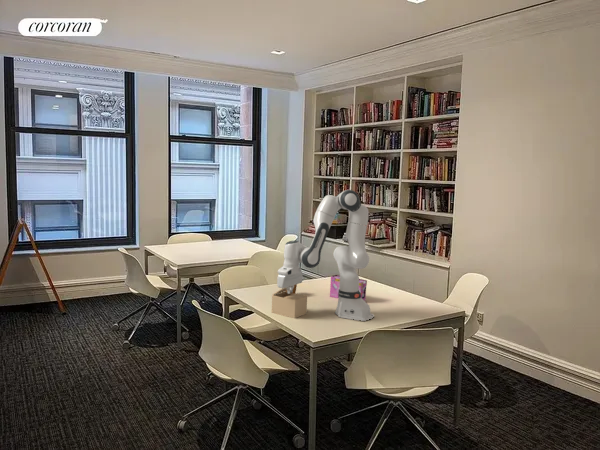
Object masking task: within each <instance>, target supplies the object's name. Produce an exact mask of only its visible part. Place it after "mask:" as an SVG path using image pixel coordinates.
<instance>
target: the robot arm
mask: <svg viewBox="0 0 600 450" xmlns="http://www.w3.org/2000/svg"><path fill="white" fill-rule="evenodd" d="M340 210H347V211H348V220H347V221H348V222H347V224H346V225H347V227H346V230H345V237H346V239H347V242H348V245H338V246H337V247H335V249H334V250H333V254H332V255H333V259H334V260H335V262H336V265H337V268H338V269H337V270H338V272H339V273H338V275H340V287H339V291H338V298H337V299H338V300H337V306H336V310H335V312H334V313H335V315H337V317H338V318H342V319H348V320H353V319H354V320H353V321H359V320H361V322H367V321H366V320H368V321H370V320H369V319H371V320H372V318H373V317H374V318H375V315H374V313H372V312H371V306H370V304H369V303H367V302H366V300H365V301H364V300H363V299H362V298H361V295H362V293H360V292H359V279H360V277H359V275H358V273H357V270H358V269H359V270H360V269H361V270H362V269H365V268H367V267H368V265H369V263H370V256H369V254H368V253H367V252H368V251H367V249H366V242H365V241H366V235H367V230H368V229H367V228H368V223H369V208H368V207H367V206H366V205H364V204H362V202H361V200H360V196H359V194H358V193H357V192H356V191H355V190H352V189H346V190H342V191H341V192H340V193H339V194H337V195H336V196H334V195H332V194H327V195H325V196H324V197H323V199H322V200H321V201H320V203H319V205H318V206H317V208H316V211H315V213H314V216H313V221H312V222H313V225H314V227H315V228H314V229H315V233H314V237H313V239H312V242H311V244H310V246H306V245H305V244H303V243H301V242H299V240H289V241H287V242H286V243H285V244H284V249H283V258H284V260H283V265H282V266H281V267H280V268H278V270H277V274H278V275H277V277H276V279H277V281H276V283H277V284H276V285H277V288H280V289H282V288H286V289H287V293H288V294H290V293H292V292H293V288H294V285H296V284H297V285H298V284H302V283H303V271H302V268H301V267H300V263H302V264H303V265H304V266H305V268H309V269H313V268H316V267H317V266H319V264H320V262H321V254H322V250H323V247H324V244H325V242H326V239H327V236H328V233H329V232H330V228H331V226H332V224H333V221H334V220H335V217H336V216H337V215H336V214H338V212H339V211H340ZM356 269H357V270H356ZM374 318H373V319H374Z"/></svg>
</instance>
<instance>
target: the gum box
mask: <svg viewBox="0 0 600 450" xmlns="http://www.w3.org/2000/svg"><path fill="white" fill-rule="evenodd" d="M367 283H368V280H366V279H363V278H359V292H360V293H362V295H361V298H362V299H363V300H364V301H365V302H366V297H367V296H366V295H367V285H368V284H367ZM329 286H330V287H329V297H330V298H335V299H339V298H338V291H339V287H340V274H335V275H331V276H330V285H329Z"/></svg>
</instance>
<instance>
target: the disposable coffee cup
mask: <svg viewBox="0 0 600 450" xmlns="http://www.w3.org/2000/svg"><path fill="white" fill-rule="evenodd" d="M297 285H298V284H296V285H294V288H293V292H292V293H293V294H295V293H296V292H297V287H298V286H297ZM284 292H287V290H286V291H284ZM296 294H297V293H296Z"/></svg>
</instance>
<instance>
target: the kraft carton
mask: <svg viewBox="0 0 600 450" xmlns="http://www.w3.org/2000/svg"><path fill="white" fill-rule="evenodd" d="M307 308H308V296H307V295H305V294H300V293H295V294H293V293H290V294H288V293H287V292H285V291H284V292H281V293H278V294H275V295H271V314H277V315H280V316H283V317H284V316H285V317H287V318H291V319H297V318H299V317H303V316H304V315H307Z"/></svg>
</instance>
